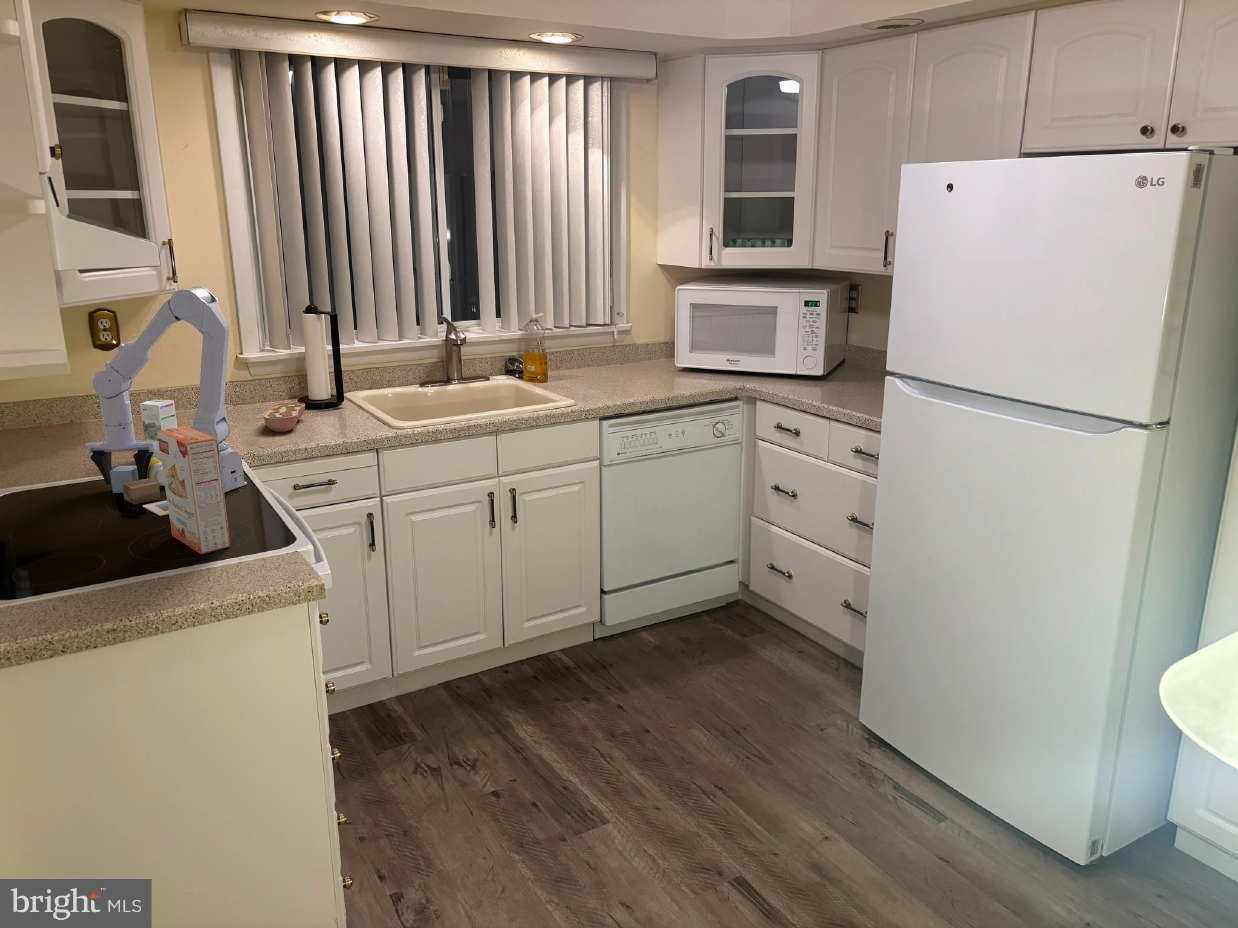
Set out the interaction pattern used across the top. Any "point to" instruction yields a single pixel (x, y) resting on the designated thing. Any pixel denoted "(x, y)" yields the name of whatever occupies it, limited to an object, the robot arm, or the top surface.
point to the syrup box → (157, 420)
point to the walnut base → (141, 491)
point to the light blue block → (122, 477)
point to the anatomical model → (283, 416)
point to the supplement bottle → (156, 471)
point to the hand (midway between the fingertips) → (126, 483)
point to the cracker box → (194, 489)
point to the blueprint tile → (158, 508)
